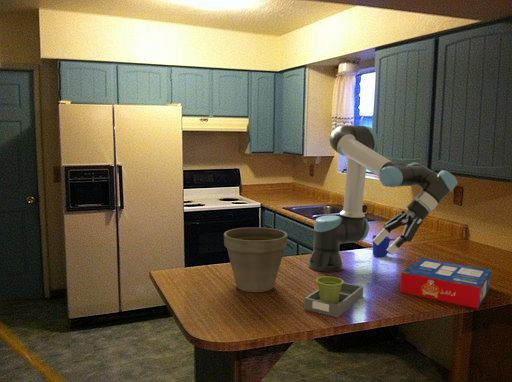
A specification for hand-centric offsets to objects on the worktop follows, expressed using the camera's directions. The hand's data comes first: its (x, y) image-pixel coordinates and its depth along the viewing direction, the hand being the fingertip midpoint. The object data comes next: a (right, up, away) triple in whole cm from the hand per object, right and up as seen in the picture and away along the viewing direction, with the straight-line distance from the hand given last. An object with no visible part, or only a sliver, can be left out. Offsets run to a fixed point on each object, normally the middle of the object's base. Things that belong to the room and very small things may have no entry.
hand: (381, 247), depth 172 cm
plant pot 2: (-21, -19, -9) cm, 30 cm away
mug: (+18, -12, +62) cm, 66 cm away
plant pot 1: (-47, -17, +12) cm, 52 cm away
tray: (-18, -20, -4) cm, 27 cm away
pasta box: (+37, -14, +25) cm, 47 cm away
